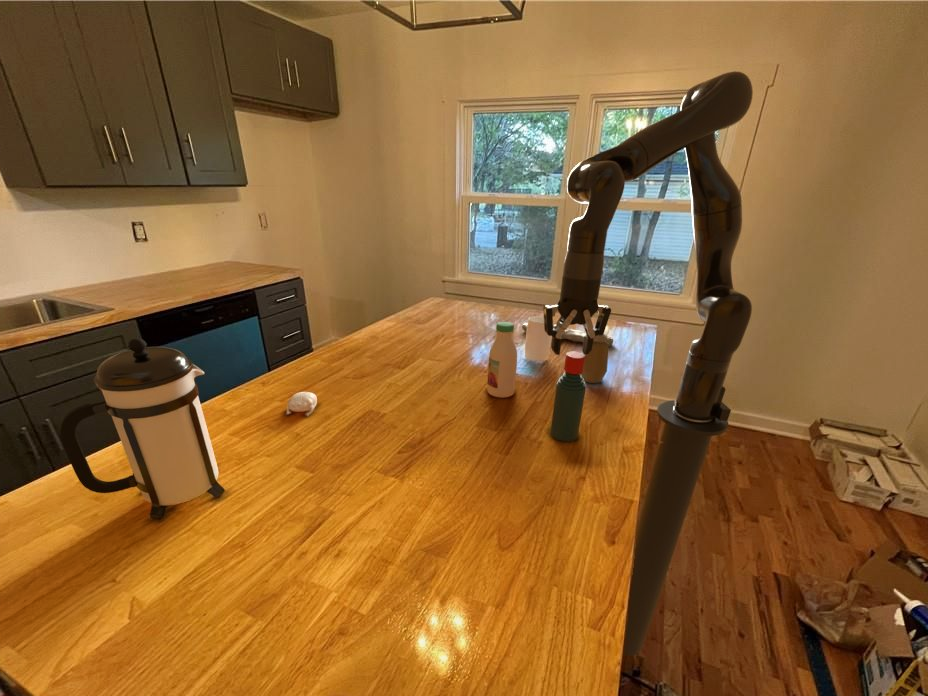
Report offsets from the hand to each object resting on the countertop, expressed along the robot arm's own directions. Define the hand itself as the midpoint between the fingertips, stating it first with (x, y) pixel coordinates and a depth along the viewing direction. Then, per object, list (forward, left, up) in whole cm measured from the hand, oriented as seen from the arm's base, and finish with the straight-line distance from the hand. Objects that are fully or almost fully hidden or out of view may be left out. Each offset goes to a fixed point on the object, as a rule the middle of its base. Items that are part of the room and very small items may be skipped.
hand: (570, 353), depth 91 cm
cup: (0, -46, -21) cm, 50 cm away
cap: (-1, 0, -4) cm, 4 cm away
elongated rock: (-14, -70, -21) cm, 74 cm away
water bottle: (-1, 0, -20) cm, 20 cm away
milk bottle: (+13, -21, -21) cm, 32 cm away
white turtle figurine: (+64, -7, -21) cm, 68 cm away
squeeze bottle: (-15, -32, -21) cm, 41 cm away
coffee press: (+74, +27, -21) cm, 81 cm away
